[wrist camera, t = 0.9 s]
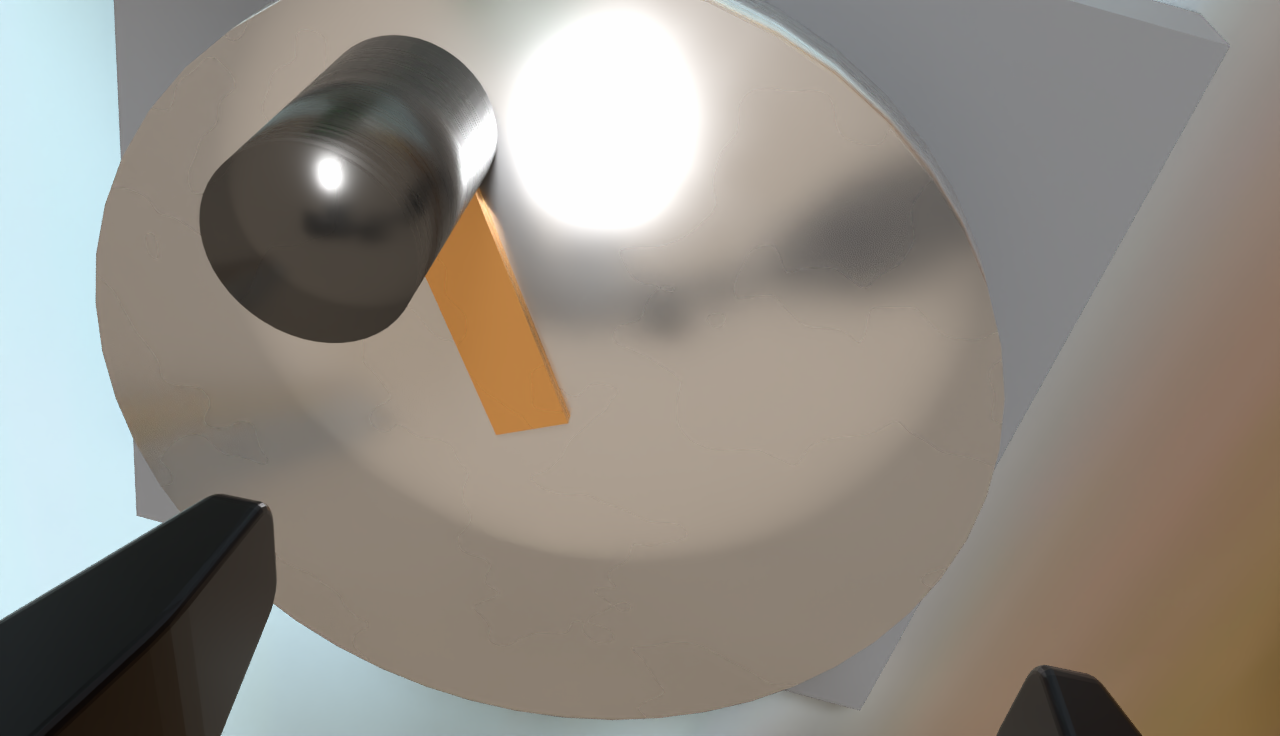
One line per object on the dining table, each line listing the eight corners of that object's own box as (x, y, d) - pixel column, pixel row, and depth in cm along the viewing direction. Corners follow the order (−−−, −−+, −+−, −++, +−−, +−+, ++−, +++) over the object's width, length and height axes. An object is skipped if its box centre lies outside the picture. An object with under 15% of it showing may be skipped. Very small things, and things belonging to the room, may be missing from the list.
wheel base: (1200, 13, 17) (1257, 75, 14) (858, 656, 25) (861, 757, 23) (156, -282, 16) (51, -266, 14) (170, 470, 25) (106, 554, 23)
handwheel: (1170, 98, 14) (1296, 276, 11) (822, 742, 22) (822, 977, 19) (118, -198, 14) (-148, -127, 10) (146, 560, 22) (4, 760, 18)
